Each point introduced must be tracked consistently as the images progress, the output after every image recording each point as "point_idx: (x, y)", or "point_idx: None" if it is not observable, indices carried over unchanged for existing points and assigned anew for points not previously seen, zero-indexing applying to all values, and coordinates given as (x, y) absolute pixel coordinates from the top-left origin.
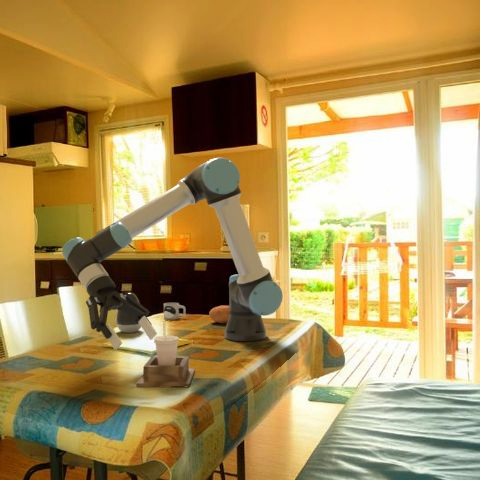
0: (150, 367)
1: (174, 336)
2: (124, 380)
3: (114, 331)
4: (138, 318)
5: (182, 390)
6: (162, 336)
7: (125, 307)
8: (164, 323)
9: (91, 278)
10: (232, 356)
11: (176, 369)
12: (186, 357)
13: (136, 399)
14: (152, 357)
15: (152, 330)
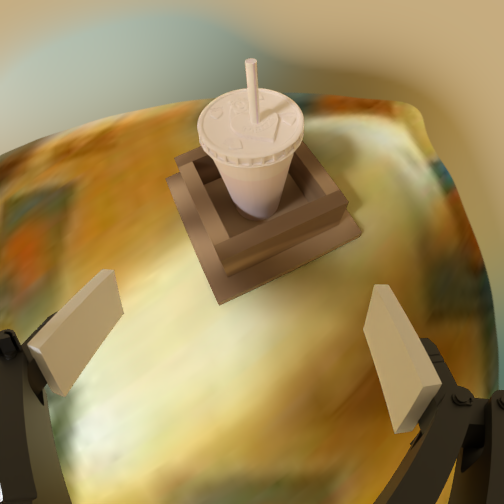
0: (334, 185)
1: (205, 114)
2: (334, 308)
3: (401, 334)
4: (44, 399)
5: (313, 135)
6: (223, 148)
7: (52, 498)
8: (256, 66)
9: None
10: (37, 188)
11: None
12: (187, 156)
13: (412, 183)
14: (232, 248)
15: (101, 286)
